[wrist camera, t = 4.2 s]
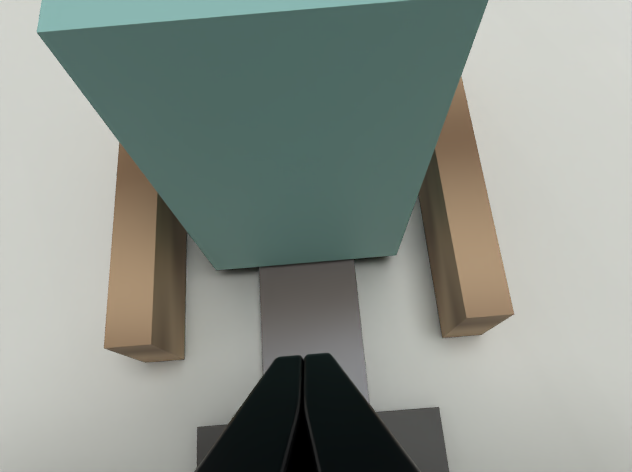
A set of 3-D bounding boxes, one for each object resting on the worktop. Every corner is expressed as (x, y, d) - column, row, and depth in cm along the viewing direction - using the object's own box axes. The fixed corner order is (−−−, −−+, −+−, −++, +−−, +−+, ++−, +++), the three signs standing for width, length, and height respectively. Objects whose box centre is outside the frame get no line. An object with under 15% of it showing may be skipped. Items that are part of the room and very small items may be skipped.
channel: (553, 704, 12) (618, 787, 9) (128, 737, 12) (67, 831, 9) (397, -94, 22) (407, -168, 19) (165, -73, 22) (140, -145, 19)
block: (396, 255, 15) (491, -8, 6) (216, 270, 15) (36, 33, 6) (376, 118, 17) (427, -246, 8) (215, 132, 17) (75, -214, 8)
